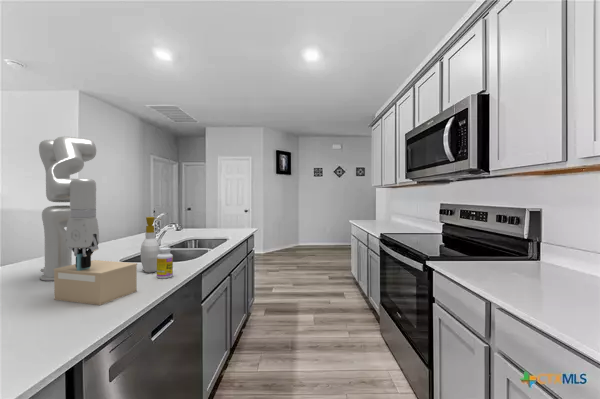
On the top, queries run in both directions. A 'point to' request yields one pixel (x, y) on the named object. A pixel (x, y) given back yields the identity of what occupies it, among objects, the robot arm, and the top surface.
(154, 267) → the soap bottle
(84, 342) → the top surface
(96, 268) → the lid
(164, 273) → the supplement bottle
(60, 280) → the carton
